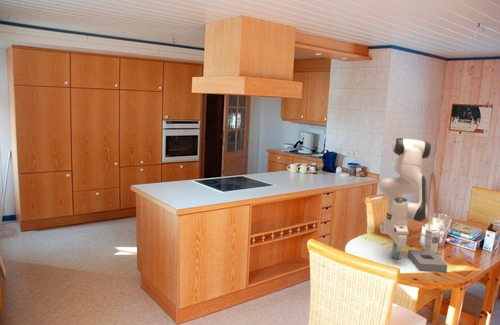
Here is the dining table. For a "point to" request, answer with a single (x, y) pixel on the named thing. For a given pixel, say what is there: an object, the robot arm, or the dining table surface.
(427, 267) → the hole block
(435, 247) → the syrup box
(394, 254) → the peg
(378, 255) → the dining table surface
